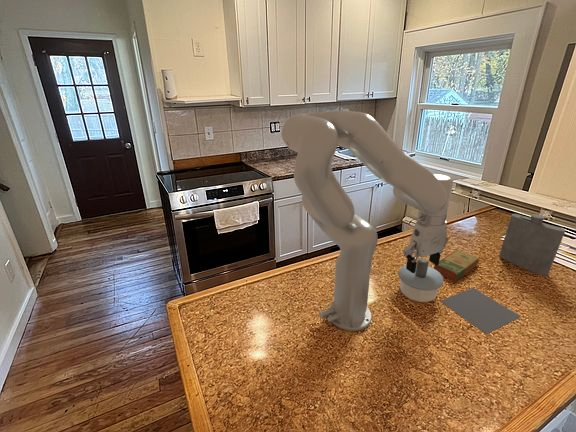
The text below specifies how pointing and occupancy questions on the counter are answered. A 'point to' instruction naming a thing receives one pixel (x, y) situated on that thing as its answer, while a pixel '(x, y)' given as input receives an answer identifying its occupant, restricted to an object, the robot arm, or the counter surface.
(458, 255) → the carton
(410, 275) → the lid
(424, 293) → the bowl
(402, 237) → the counter surface
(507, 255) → the hip flask
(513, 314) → the mat
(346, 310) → the robot arm
